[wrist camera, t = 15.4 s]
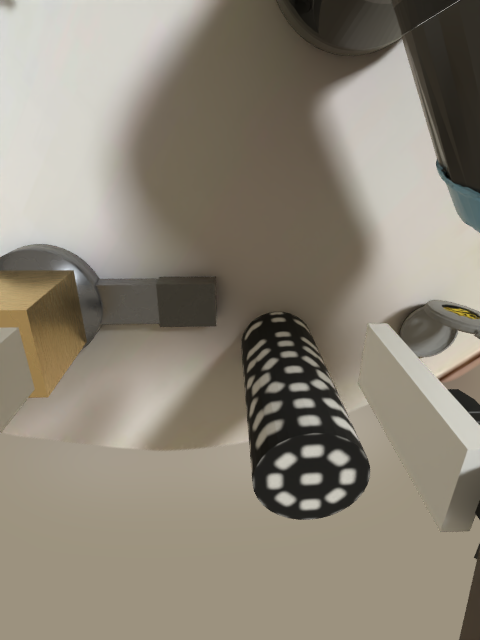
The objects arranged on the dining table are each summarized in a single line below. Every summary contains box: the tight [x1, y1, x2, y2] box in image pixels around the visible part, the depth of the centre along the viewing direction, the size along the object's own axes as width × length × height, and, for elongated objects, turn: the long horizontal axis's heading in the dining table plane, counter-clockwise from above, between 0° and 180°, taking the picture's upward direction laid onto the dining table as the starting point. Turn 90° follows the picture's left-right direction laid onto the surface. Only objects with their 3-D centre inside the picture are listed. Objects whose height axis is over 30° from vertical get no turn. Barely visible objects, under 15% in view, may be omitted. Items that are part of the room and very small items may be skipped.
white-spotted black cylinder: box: [241, 312, 370, 520], centre depth 36 cm, size 8×8×20 cm
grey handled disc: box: [0, 244, 216, 349], centre depth 38 cm, size 24×12×8 cm, turn 90°
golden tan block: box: [0, 270, 87, 398], centre depth 35 cm, size 8×8×10 cm
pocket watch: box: [400, 300, 480, 357], centre depth 40 cm, size 8×8×10 cm
